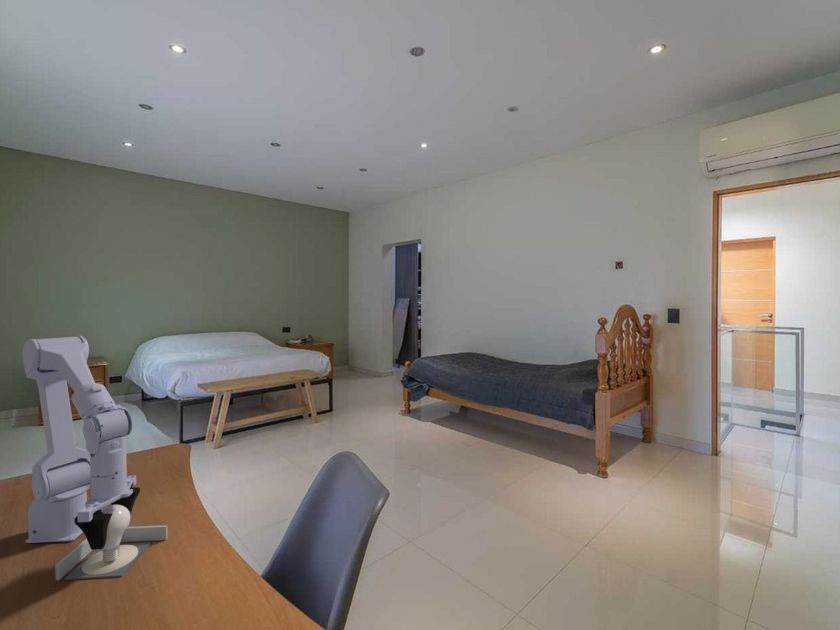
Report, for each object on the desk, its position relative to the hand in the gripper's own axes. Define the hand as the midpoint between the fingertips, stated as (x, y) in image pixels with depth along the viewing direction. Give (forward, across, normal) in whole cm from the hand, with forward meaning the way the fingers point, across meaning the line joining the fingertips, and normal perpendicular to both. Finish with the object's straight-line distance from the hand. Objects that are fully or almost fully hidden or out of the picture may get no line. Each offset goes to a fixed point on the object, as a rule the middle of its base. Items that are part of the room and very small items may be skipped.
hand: (110, 536), depth 80 cm
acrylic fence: (+5, +1, 0) cm, 5 cm away
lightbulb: (+5, -1, 0) cm, 5 cm away
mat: (+5, 0, 0) cm, 5 cm away
